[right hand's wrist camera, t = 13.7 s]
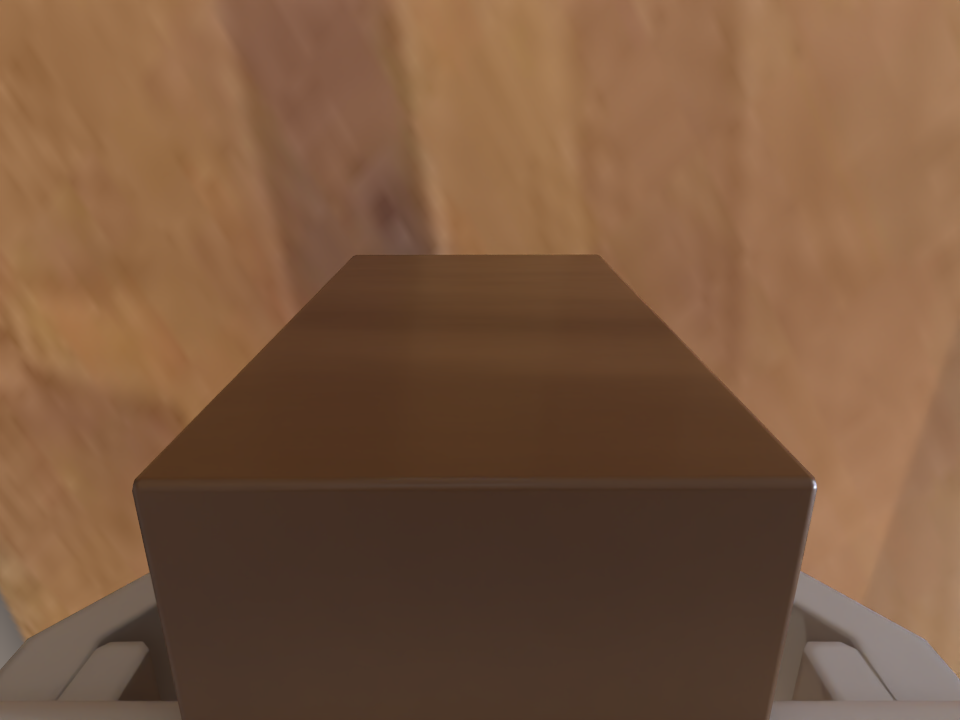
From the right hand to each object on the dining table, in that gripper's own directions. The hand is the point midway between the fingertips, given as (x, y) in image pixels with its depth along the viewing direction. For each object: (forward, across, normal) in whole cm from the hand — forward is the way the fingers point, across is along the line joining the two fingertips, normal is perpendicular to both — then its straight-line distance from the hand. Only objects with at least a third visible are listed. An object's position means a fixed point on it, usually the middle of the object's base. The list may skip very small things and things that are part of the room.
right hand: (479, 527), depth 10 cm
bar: (+3, 0, -10) cm, 10 cm away
